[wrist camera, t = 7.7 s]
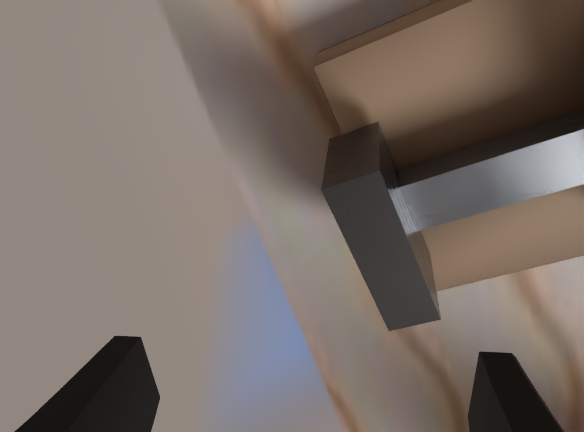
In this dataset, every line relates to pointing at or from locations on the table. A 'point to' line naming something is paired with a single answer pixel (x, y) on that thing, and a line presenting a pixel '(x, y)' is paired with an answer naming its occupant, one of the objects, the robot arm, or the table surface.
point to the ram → (435, 201)
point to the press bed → (470, 114)
